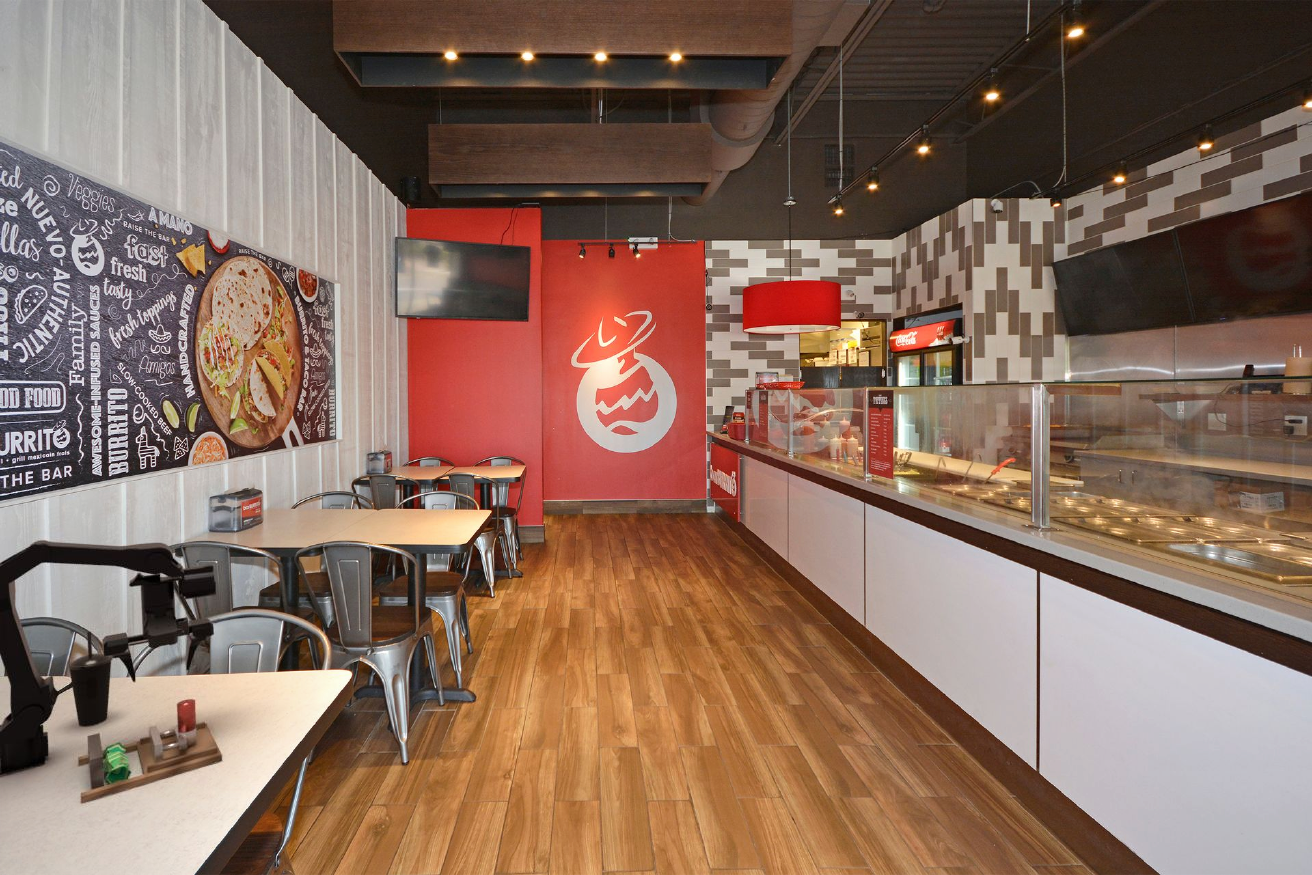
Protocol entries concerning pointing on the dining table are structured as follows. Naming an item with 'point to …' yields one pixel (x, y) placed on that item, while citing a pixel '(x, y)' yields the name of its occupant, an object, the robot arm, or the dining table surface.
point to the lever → (176, 731)
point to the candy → (115, 763)
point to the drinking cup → (91, 686)
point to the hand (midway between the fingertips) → (161, 675)
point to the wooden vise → (149, 761)
